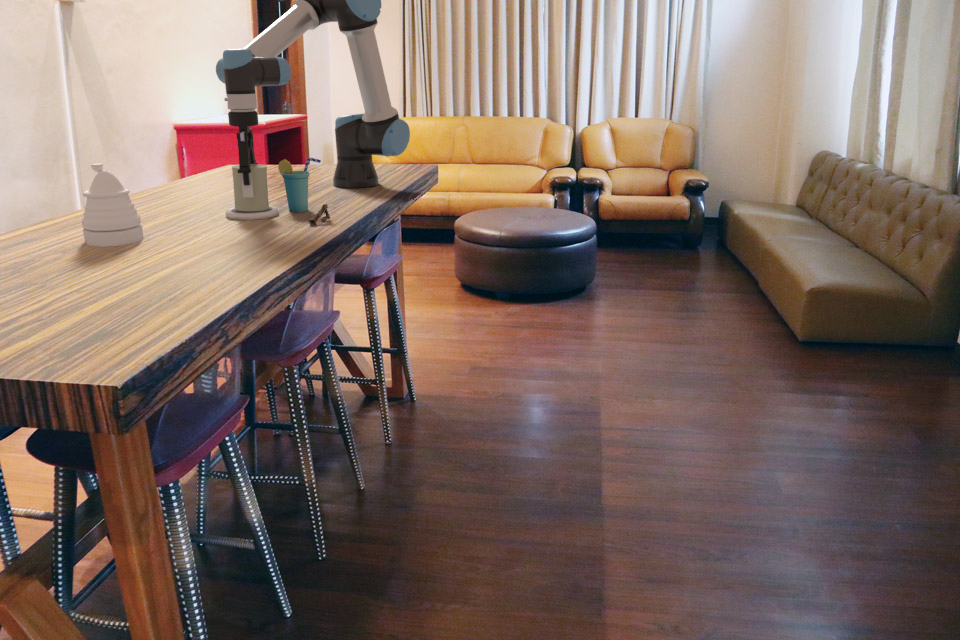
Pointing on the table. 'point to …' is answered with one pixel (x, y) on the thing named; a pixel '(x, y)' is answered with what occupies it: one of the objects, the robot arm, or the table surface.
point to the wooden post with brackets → (314, 220)
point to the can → (259, 190)
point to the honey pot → (109, 212)
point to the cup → (296, 185)
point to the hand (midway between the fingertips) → (250, 193)
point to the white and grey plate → (251, 214)
